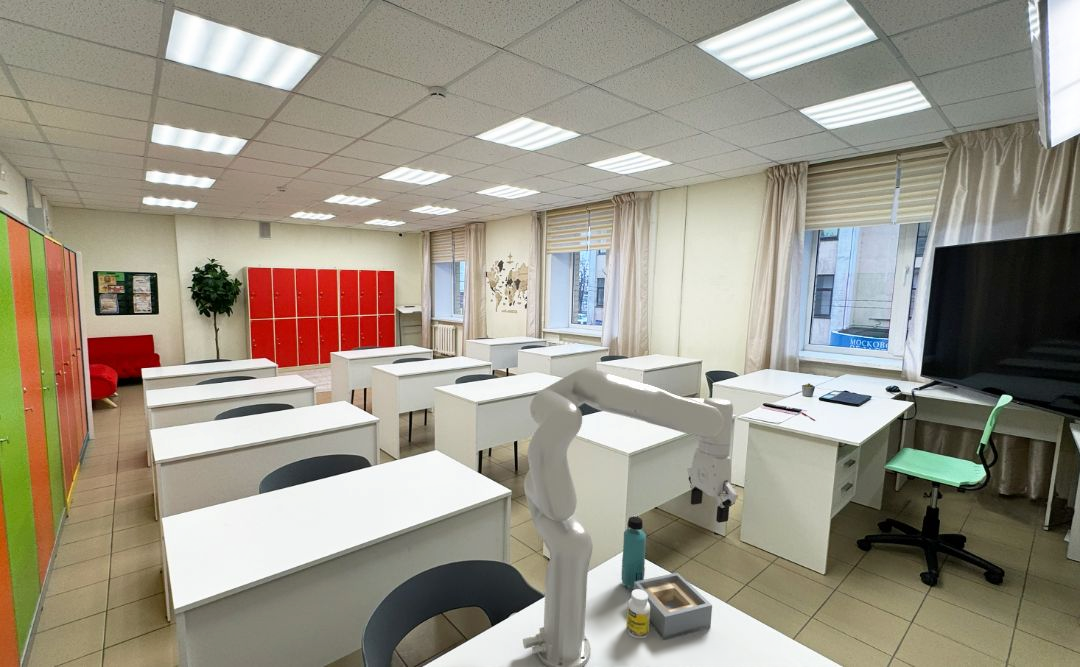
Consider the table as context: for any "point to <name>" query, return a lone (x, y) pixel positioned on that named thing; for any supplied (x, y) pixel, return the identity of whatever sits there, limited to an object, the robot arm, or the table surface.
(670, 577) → the box
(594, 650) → the table surface
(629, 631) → the supplement bottle
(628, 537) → the beverage bottle
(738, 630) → the table surface
